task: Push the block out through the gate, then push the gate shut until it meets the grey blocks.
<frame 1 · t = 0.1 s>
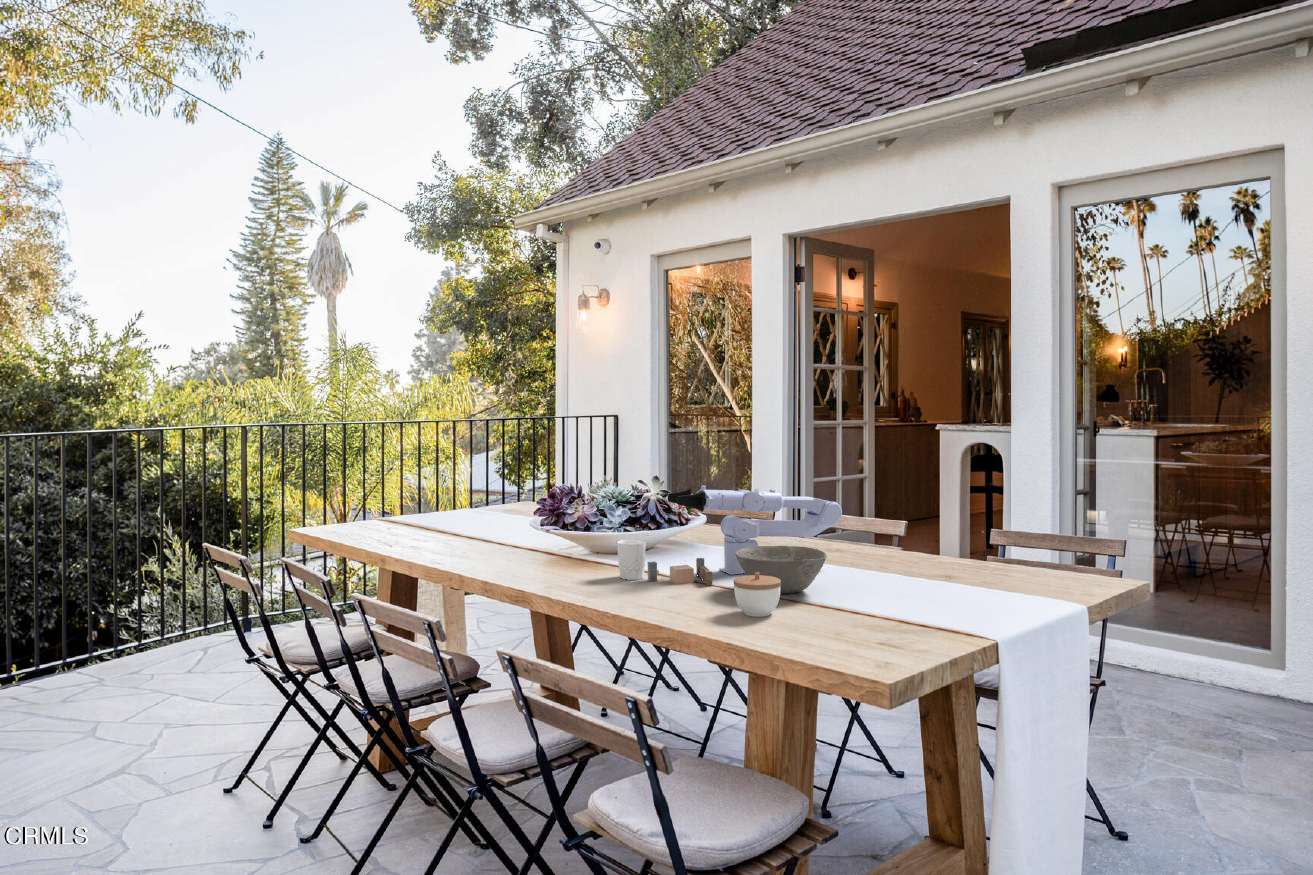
hand: (672, 499, 235), 22 cm above the table, tool horizontal, fingers open, 7 cm apart
lidded jar: (757, 614, 195), on the table
grey blocks: (700, 576, 237), on the table
block: (681, 581, 231), on the table
white cup: (632, 578, 237), on the table
ceramic bowl: (780, 592, 217), on the table
gate: (705, 574, 229), point 2 cm above the table, hinge at 80.0°
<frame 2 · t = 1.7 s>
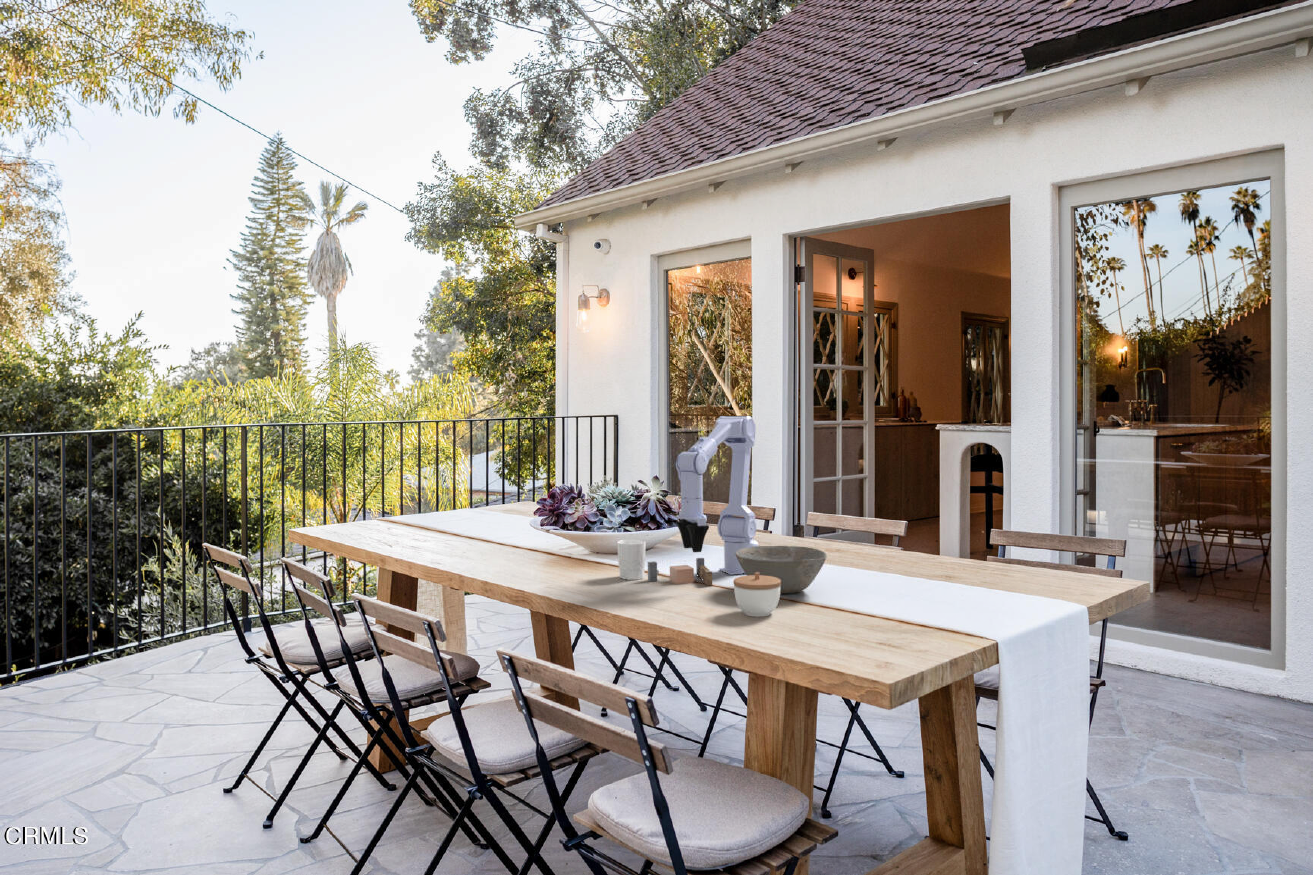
hand: (692, 549, 222), 10 cm above the table, tool pointing down, fingers open, 6 cm apart
nothing on the table moved.
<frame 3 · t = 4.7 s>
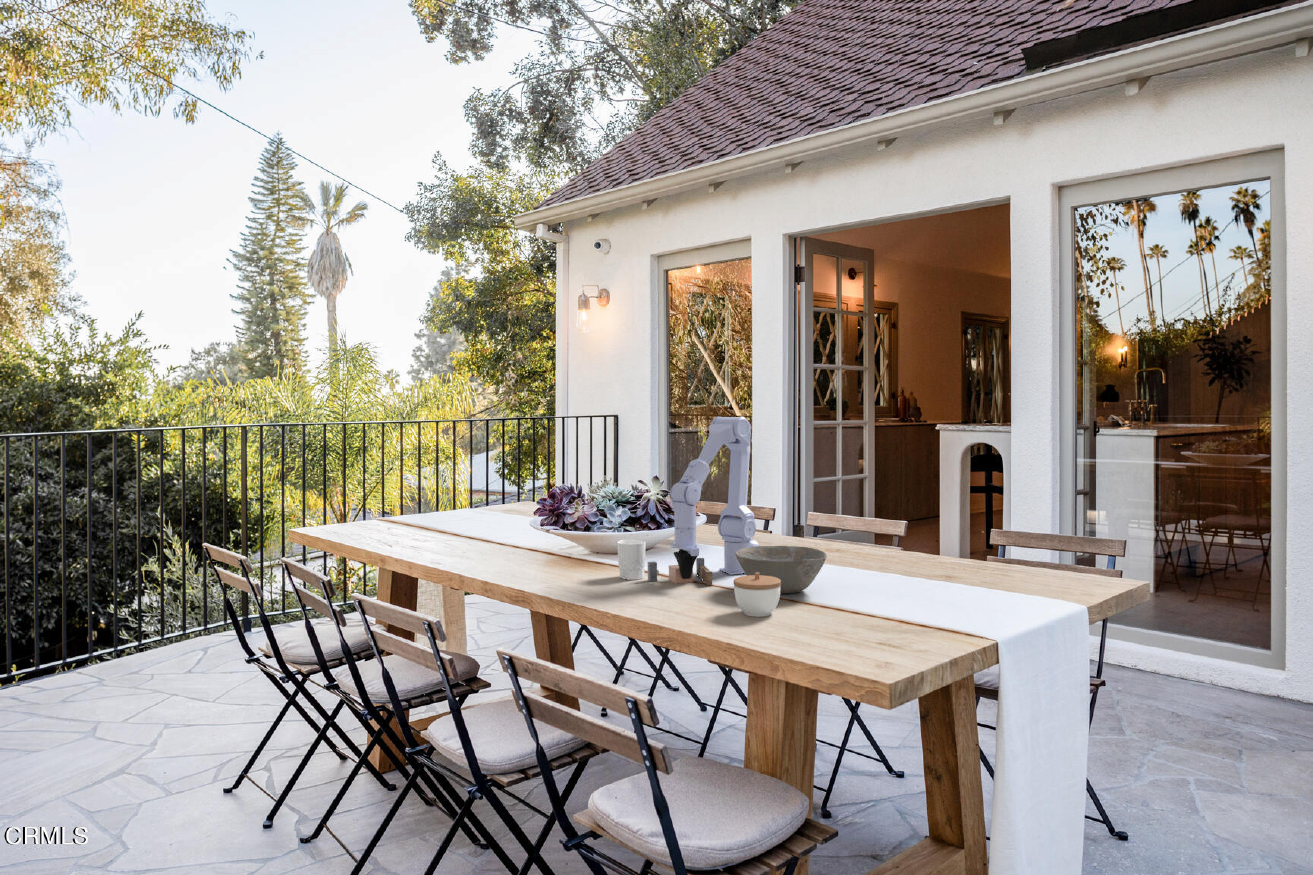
hand: (686, 578, 227), 1 cm above the table, tool pointing down, fingers closed
block: (680, 580, 231), on the table, touching gripper
everything else where it was.
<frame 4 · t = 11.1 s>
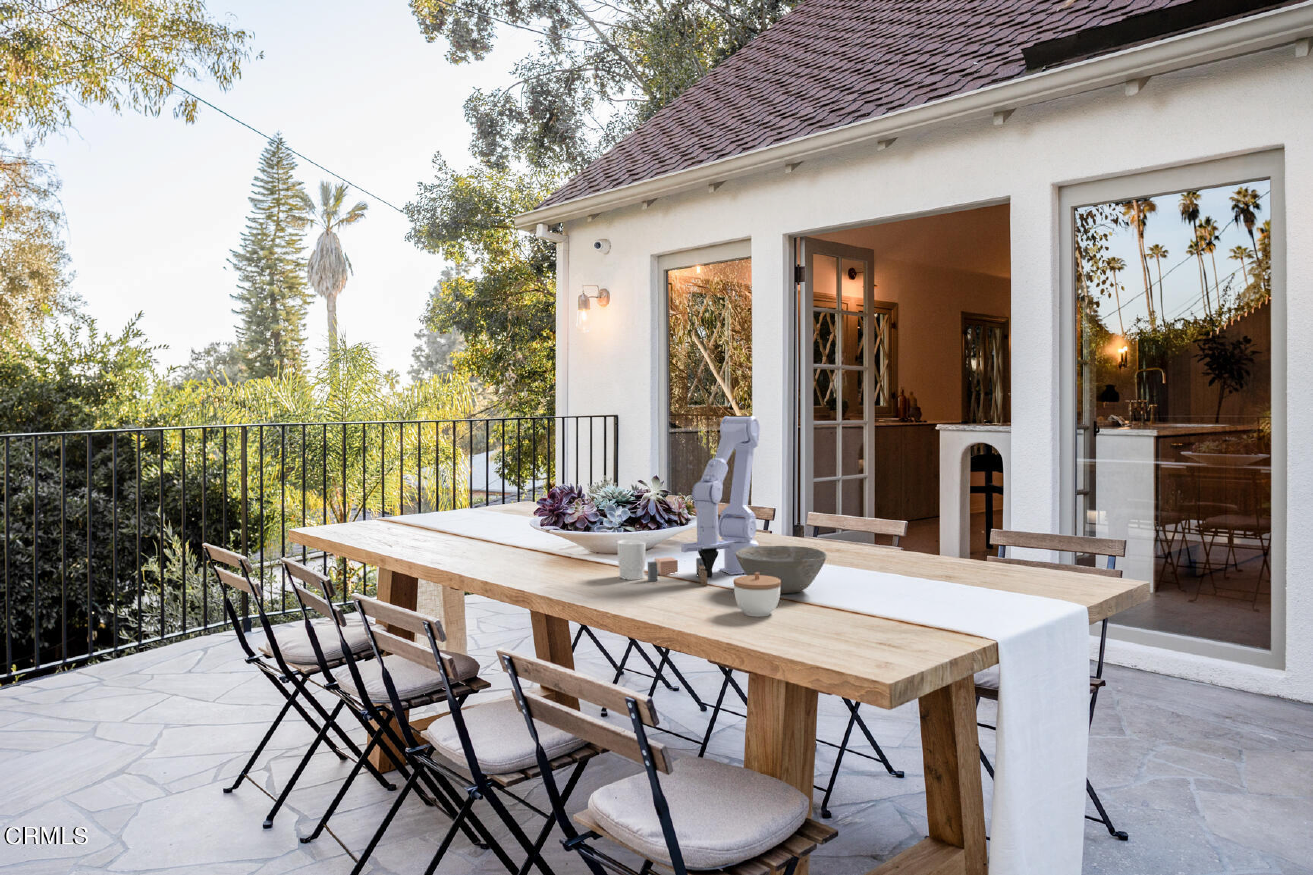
hand: (708, 577, 229), 1 cm above the table, tool pointing down, fingers closed, pressing on gate
block: (666, 573, 242), on the table
gate: (702, 575, 229), point 2 cm above the table, hinge at 73.5°, touching gripper
everything else where it was.
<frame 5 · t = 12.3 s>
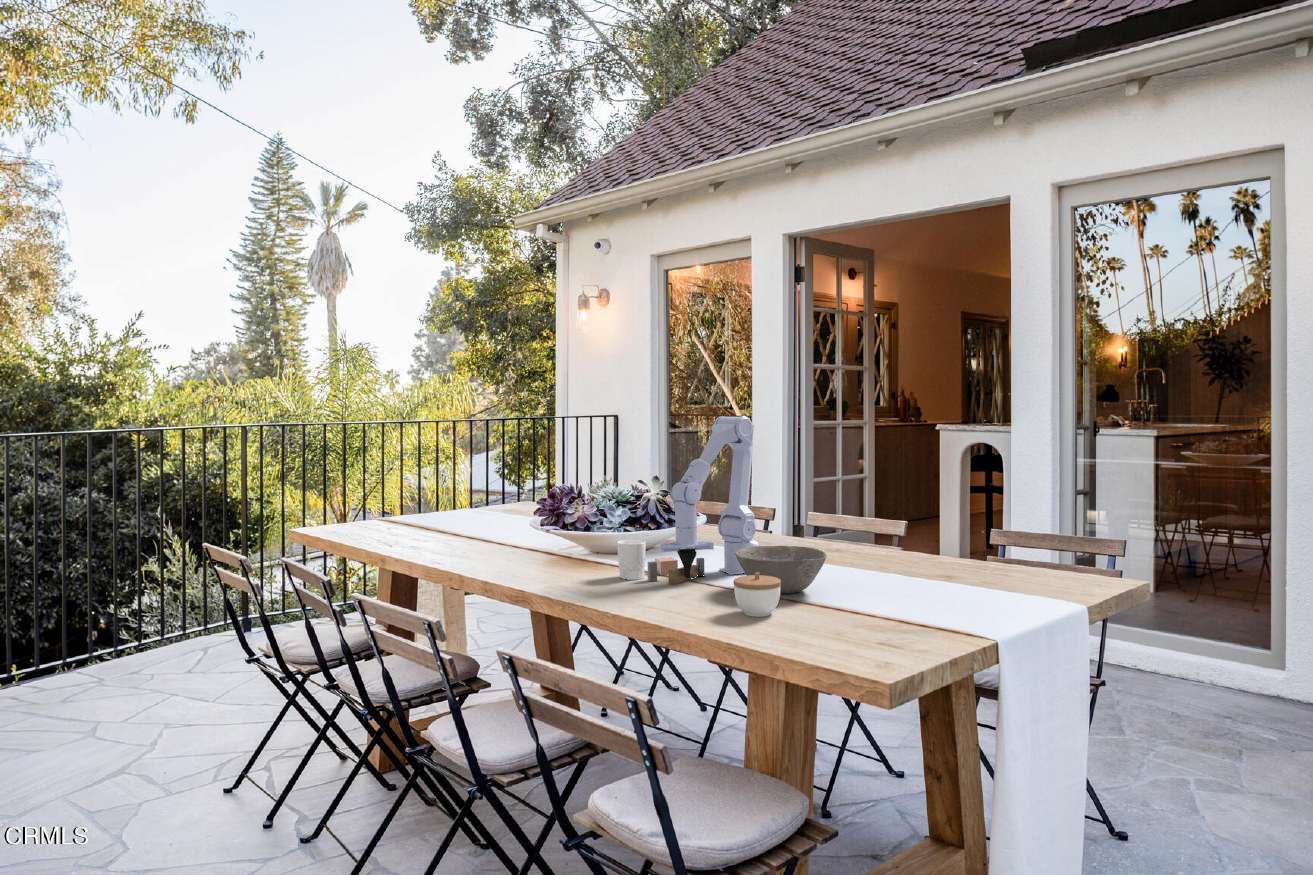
hand: (687, 577, 229), 1 cm above the table, tool pointing down, fingers closed, pressing on gate
gate: (683, 573, 231), point 2 cm above the table, hinge at 28.3°, touching gripper
everything else where it was.
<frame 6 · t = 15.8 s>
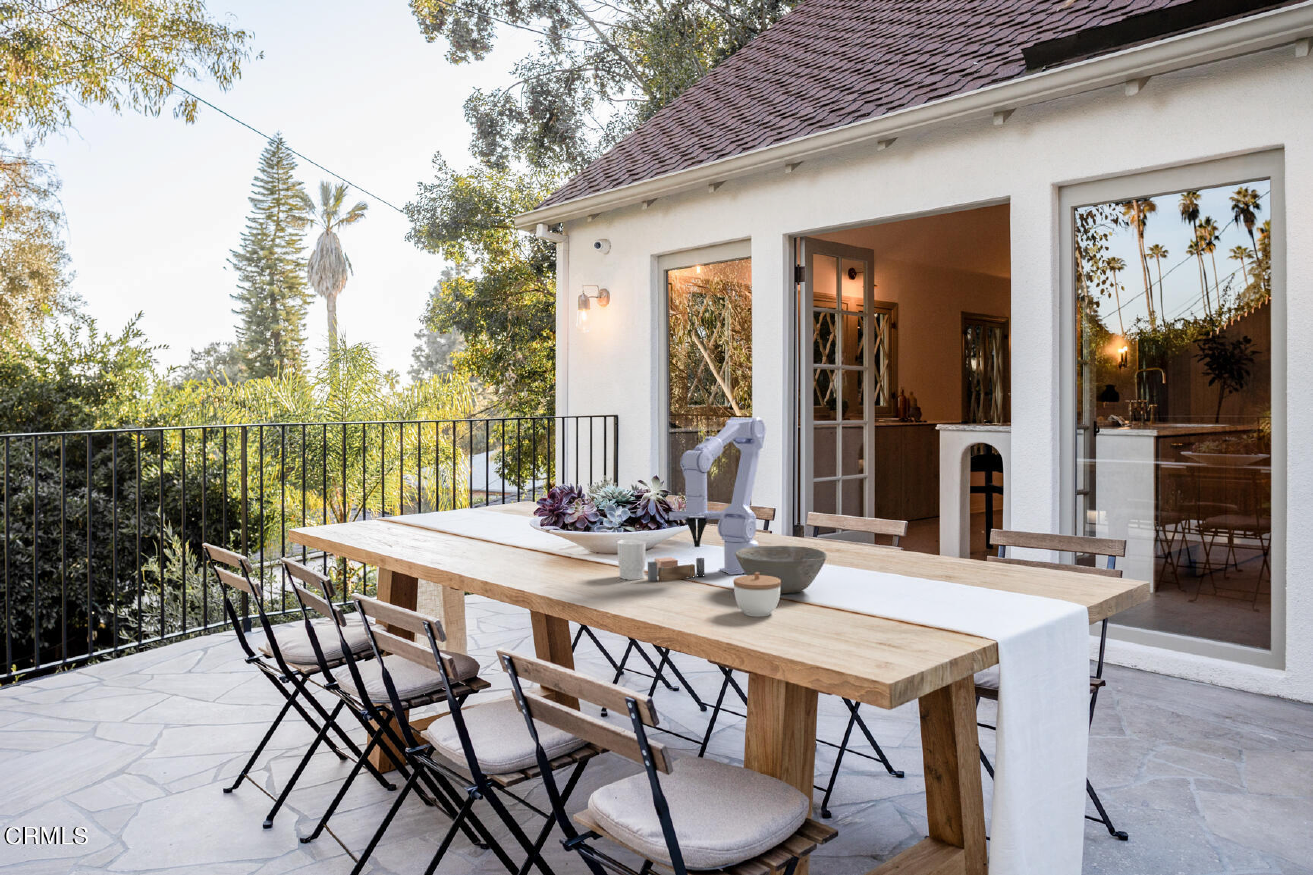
hand: (697, 546, 227), 10 cm above the table, tool pointing down, fingers closed
gate: (676, 572, 234), point 2 cm above the table, hinge at 6.0°, touching grey blocks
everything else where it was.
at the end: gate at +6° (first picture: +80°); block inside the target area (3.1 cm from its centre), on the table; block tilted 0° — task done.
